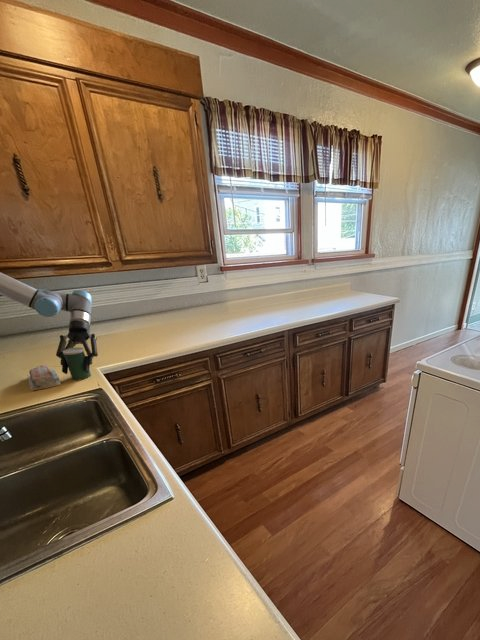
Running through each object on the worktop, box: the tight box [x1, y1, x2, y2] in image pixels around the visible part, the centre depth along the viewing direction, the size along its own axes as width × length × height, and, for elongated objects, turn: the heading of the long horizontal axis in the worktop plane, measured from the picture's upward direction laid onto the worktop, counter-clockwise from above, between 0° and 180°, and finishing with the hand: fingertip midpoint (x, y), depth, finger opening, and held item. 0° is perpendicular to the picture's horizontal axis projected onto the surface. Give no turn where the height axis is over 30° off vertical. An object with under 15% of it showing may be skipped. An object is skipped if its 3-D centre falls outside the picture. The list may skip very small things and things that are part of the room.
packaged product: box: [26, 364, 62, 392], centre depth 134 cm, size 18×5×10 cm
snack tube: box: [63, 346, 92, 381], centre depth 137 cm, size 7×7×12 cm
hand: (75, 371), depth 135 cm, fingers open, 8 cm apart
